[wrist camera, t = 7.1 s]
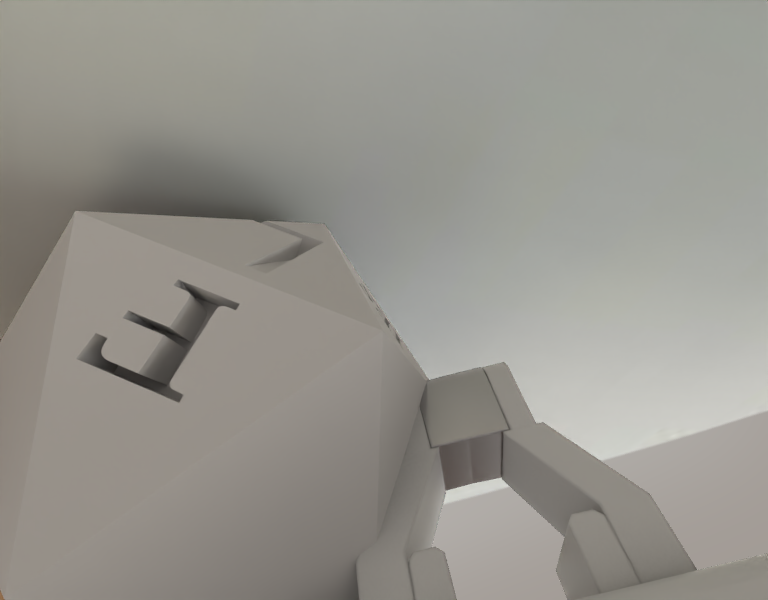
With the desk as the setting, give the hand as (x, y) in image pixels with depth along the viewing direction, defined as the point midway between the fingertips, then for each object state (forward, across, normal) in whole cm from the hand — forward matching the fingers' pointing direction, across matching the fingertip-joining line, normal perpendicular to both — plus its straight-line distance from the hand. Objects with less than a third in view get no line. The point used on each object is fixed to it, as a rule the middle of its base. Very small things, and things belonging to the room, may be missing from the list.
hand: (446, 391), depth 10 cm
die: (+4, +4, -1) cm, 6 cm away
